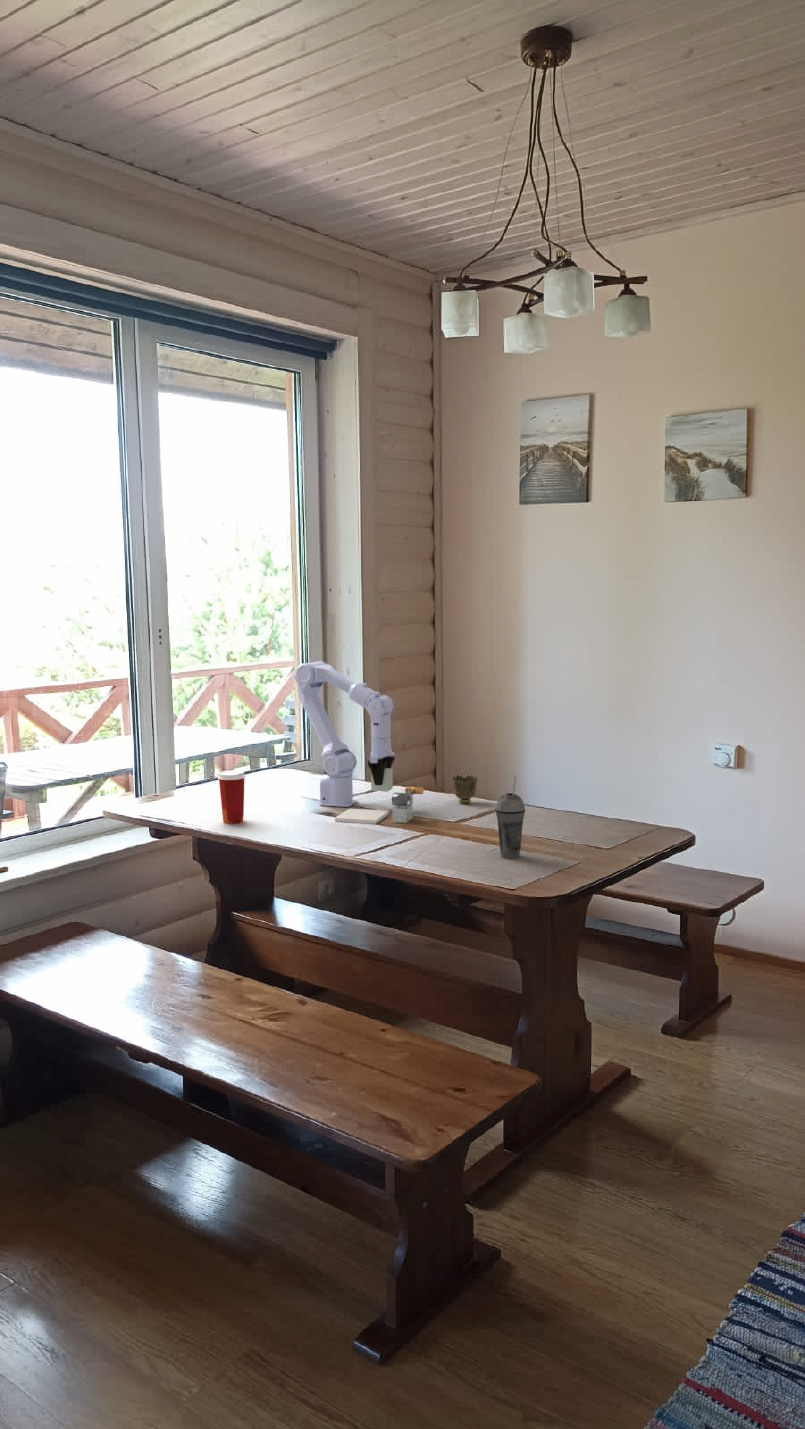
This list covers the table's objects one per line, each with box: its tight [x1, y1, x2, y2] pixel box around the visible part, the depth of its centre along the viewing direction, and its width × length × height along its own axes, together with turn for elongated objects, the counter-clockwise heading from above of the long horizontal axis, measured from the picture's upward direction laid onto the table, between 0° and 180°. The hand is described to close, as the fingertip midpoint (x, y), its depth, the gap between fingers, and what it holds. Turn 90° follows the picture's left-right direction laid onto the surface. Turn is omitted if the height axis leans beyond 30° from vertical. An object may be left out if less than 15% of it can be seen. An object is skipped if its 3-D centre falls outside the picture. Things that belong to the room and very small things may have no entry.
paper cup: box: [217, 769, 246, 825], centre depth 282 cm, size 8×8×14 cm
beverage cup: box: [494, 775, 526, 860], centre depth 243 cm, size 7×7×20 cm
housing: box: [370, 767, 394, 793], centre depth 295 cm, size 5×5×6 cm
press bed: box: [334, 807, 390, 825], centre depth 285 cm, size 12×12×1 cm
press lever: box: [391, 786, 425, 807], centre depth 285 cm, size 5×17×4 cm, turn 163°
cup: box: [452, 774, 478, 805], centre depth 302 cm, size 8×7×8 cm
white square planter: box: [392, 794, 414, 824], centre depth 281 cm, size 4×6×7 cm
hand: (381, 783), depth 295 cm, fingers closed on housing, 5 cm apart
